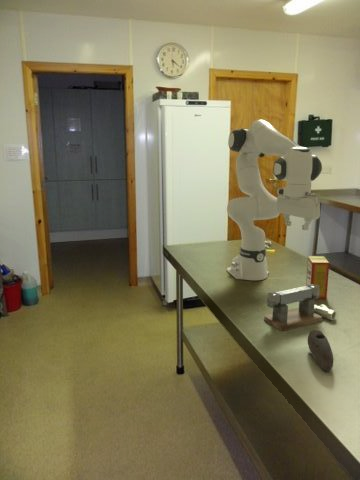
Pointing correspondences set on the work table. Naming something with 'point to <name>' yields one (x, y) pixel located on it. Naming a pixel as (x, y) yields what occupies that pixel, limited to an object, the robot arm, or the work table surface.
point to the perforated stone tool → (320, 349)
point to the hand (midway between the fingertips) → (296, 227)
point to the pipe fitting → (324, 311)
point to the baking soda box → (318, 274)
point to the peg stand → (293, 316)
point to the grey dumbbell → (292, 295)
